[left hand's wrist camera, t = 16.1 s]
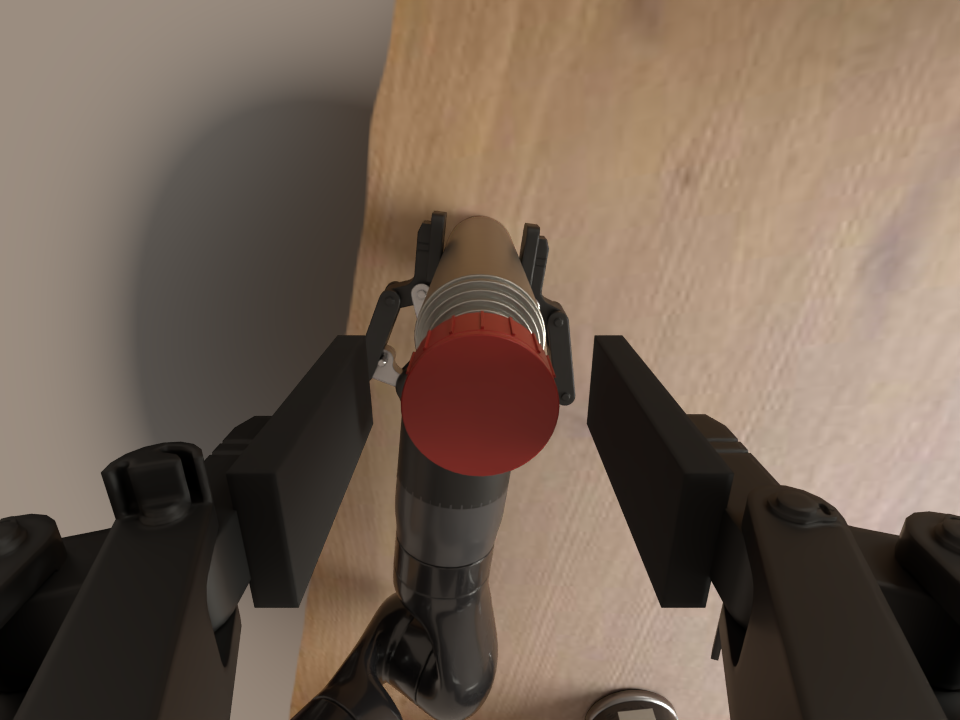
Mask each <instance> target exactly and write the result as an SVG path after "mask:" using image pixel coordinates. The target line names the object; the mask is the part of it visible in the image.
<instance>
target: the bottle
mask: <svg viewBox="0 0 960 720" xmlns="http://www.w3.org/2000/svg"><path fill="white" fill-rule="evenodd" d="M481 311H484V313H492V314H498V315H501V316H505V317H507V318H509V317H512V319H513V320H514V321H516V322H518V323H519V324H521V325H522V326H524V327H525V328H526V329H527V330H529V331H530V332H531V333H533V332H534V333H535V335H536V338H537V340H538V342H539V343H540V344H541V346H542V348H543V350H544V348H545V340H546V334H545V325H544V321H543V317H542V314H541V312H540V309H539V307H538V304H537V302H536V299H535V297H534V294H533V292H532V289H531V287H530V284H529V282H528V279H527V277H526V274H525V272H524V269H523V267H522V264H521V262H520V259H519V257H518V254H517V252H516V249H515V247H514V244H513V242H512V239H511V237H510V235H509V233H508V231H507V230H506V228H505V227H504V226H503V225H502V224H501V223H499V222H498V221H496V220H494V219H492V218H489V217H485V216H475V217H471V218H468V219H466V220H464V221H462V222H461V223H459V224H458V225H457V226H456V227H455V228H454V230H453V231H452V233H451V235H450V237H449V239H448V242H447V244H446V247H445V249H444V252H443V254H442V257H441V259H440V262H439V264H438V267H437V269H436V272H435V274H434V277H433V279H432V282H431V284H430V287H429V289H428V292H427V294H426V297H425V300H424V302H423V305H422V307H421V310H420V312H419V315H418V318H417V321H416V326H415V347H416V350H417V348H418V346H419V345H420V343H421V342H422V340H423V339H424V338H425V337H426V335H427V332H428V331H429V330H431V331H432V330H433V329H434V328H435V327H437V326H438V325H439V324H441V323H443V322H444V321H446V320H448V319H450V318H451V317H452V316H453V315H455V317H456V316H458V315H463V314H467V313H476V312H481Z"/></svg>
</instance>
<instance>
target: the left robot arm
mask: <svg viewBox="0 0 960 720" xmlns="http://www.w3.org/2000/svg"><path fill="white" fill-rule="evenodd" d="M372 425H373V417H372V405H371V394H370V383H369V371H368V360H367V348H366V337H365V335H338V336H337V337H336V338H335V339H334V341H333V342H332V343H331V344H330V346H329V347H328V348H327V349H326V350H325V352H324V353H323V354H322V355H321V357H320V358H319V359H318V360H317V362H316V363H315V364H314V365H313V366H312V368H311V369H310V370H309V371H308V373H307V374H306V375H305V376H304V378H303V379H302V380H301V381H300V382H299V384H298V385H297V386H296V387H295V389H294V390H293V391H292V392H291V394H290V395H289V396H288V397H287V398H286V400H285V401H284V402H283V403H282V405H281V406H280V407H279V408H278V410H277V411H276V412H275V413H274V415H273V416H254V417H252V418H250V419H249V420H247V421H245V422H244V423H242V424H240V425H238V426H237V427H235V428H234V429H233V430H232V431H231V432H230V433H229V434H228V436H227V437H226V438H225V439H224V440H223V443H222V444H219V445H218V446H217V448H216V449H215V450H214V451H213V452H212V455H209V456H208V458H206V460H205V461H204V458H203V454H202V450H201V449H200V448H199V447H197V446H196V445H194V444H191V443H185V442H168V443H160V444H155V445H151V446H146V447H143V448H140V449H138V450H135V451H132V452H130V453H127V454H125V455H123V456H122V457H120V458H118V459H116V460H115V461H113V462H111V463H110V464H109V465H108V466H107V467H106V468H105V469H104V470H103V471H102V472H101V475H102V478H103V481H104V484H105V487H106V490H107V494H108V497H109V500H110V503H111V506H112V509H113V512H114V515H115V518H116V520H115V522H114V524H113V526H112V528H109V529H104V530H99V531H94V532H89V533H84V534H79V535H74V536H69V537H64V538H61V536H60V533H59V530H58V527H57V525H56V522H55V520H53V519H52V518H50V517H49V516H47V515H39V514H27V515H20V516H11V517H7V518H3V519H1V520H0V720H230V713H231V705H232V697H233V689H234V681H235V673H236V665H237V657H238V649H239V641H240V633H241V619H240V614H239V609H238V605H237V604H238V602H239V600H240V598H241V597H242V595H243V593H244V591H245V589H246V587H247V586H248V584H250V589H251V593H252V598H253V603H254V607H255V608H298V607H299V605H300V603H301V600H302V598H303V595H304V593H305V590H306V588H307V586H308V583H309V581H310V578H311V576H312V573H313V571H314V568H315V566H316V563H317V561H318V558H319V556H320V553H321V551H322V549H323V546H324V544H325V541H326V539H327V536H328V534H329V531H330V529H331V526H332V524H333V521H334V519H335V517H336V514H337V512H338V509H339V507H340V504H341V502H342V499H343V497H344V494H345V492H346V489H347V487H348V484H349V482H350V480H351V477H352V475H353V472H354V470H355V467H356V465H357V462H358V460H359V457H360V455H361V452H362V450H363V447H364V445H365V443H366V440H367V438H368V435H369V433H370V430H371V428H372ZM587 425H588V428H589V430H590V433H591V435H592V438H593V440H594V443H595V445H596V447H597V450H598V452H599V455H600V457H601V460H602V462H603V465H604V467H605V470H606V472H607V475H608V477H609V480H610V482H611V484H612V487H613V489H614V492H615V494H616V497H617V499H618V502H619V504H620V507H621V509H622V512H623V514H624V517H625V519H626V521H627V524H628V526H629V529H630V531H631V534H632V536H633V539H634V541H635V544H636V546H637V549H638V551H639V553H640V556H641V558H642V561H643V563H644V566H645V568H646V571H647V573H648V576H649V578H650V581H651V583H652V586H653V588H654V590H655V593H656V595H657V598H658V600H659V603H660V605H661V608H705V607H706V603H707V598H708V593H709V589H710V584H711V581H712V583H713V585H714V587H715V588H716V590H717V592H718V594H719V596H720V598H721V599H722V601H723V605H722V609H721V614H720V618H719V622H718V627H717V631H716V635H715V639H714V644H713V648H712V655H711V659H714V660H718V659H719V655H720V650H721V649H722V656H723V664H724V672H725V680H726V688H727V696H728V704H729V712H730V720H960V516H956V515H952V514H943V513H937V512H930V511H929V512H917V513H913V514H912V515H910V516H909V517H907V518H906V519H905V522H904V525H903V527H902V530H901V533H900V535H899V536H898V535H893V534H888V533H883V532H878V531H873V530H868V529H862V528H857V527H853V526H849V525H847V523H846V521H845V519H844V518H843V516H842V515H841V514H840V513H839V512H838V510H837V509H836V508H835V507H833V506H832V505H831V504H829V503H828V502H826V501H825V500H823V499H822V498H820V497H818V496H815V495H813V494H811V493H809V492H806V491H804V490H801V489H797V488H793V487H789V486H784V485H780V484H779V483H778V482H777V481H776V480H775V479H774V478H773V477H772V476H771V475H770V473H769V472H768V471H767V470H766V469H765V468H764V467H763V466H762V465H761V464H760V463H759V462H758V460H757V459H756V458H755V457H754V456H753V455H752V454H751V453H748V450H747V449H746V447H745V446H744V445H743V444H742V443H741V442H738V439H737V438H736V437H735V436H734V434H733V433H732V432H731V431H730V430H729V429H728V428H727V427H726V426H725V425H723V424H722V423H720V422H718V421H716V420H715V419H713V418H711V417H709V416H708V415H706V414H686V413H685V412H684V411H683V410H682V408H681V407H680V406H679V405H678V403H677V402H676V401H675V400H674V398H673V397H672V396H671V395H670V394H669V392H668V391H667V390H666V389H665V387H664V386H663V385H662V384H661V382H660V381H659V380H658V379H657V378H656V376H655V375H654V374H653V373H652V371H651V370H650V369H649V368H648V366H647V365H646V364H645V363H644V362H643V360H642V359H641V358H640V357H639V355H638V354H637V353H636V352H635V350H634V349H633V348H632V347H631V345H630V344H629V343H628V342H627V341H626V339H625V338H624V337H623V336H622V335H595V337H594V348H593V360H592V371H591V382H590V394H589V405H588V417H587Z"/></svg>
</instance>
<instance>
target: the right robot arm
mask: <svg viewBox="0 0 960 720" xmlns="http://www.w3.org/2000/svg"><path fill="white" fill-rule="evenodd" d="M446 217H447V212H440V211H434V212H433V213H432V219H431V221H426V220H425V221H424V222H423V223H422V225H421V227H420V229H419V231H418V237H417V251H416V262H415V275H414V277H413V278H412V279H410V280H407V281H403V282H397V281H394V282H391V283H389V284H388V286H387V287H386V289H385V291H383V292H382V294H381V295H380V297H379V300H378V302H377V305H376V308H375V311H374V314H373V316H372V319H371V322H370V325H369V328H368V331H367V333H366V336H365V337H366V348H367V360H368V371H369V381H370V380H371V379H372V378H374V379H376V380H379V381H382V382H384V383H387V384H390V385H392V386H395V387H396V392H397V395H398V396H399V398H400V401H401V396H402V391H403V387H404V384H405V381H406V378H407V375H408V374H406V371H407V368H408V365H409V362H410V361H409V362H408V363H407V364H406V365H405V366H404V367H403V368H400V367H399V366H398V365H397V364H396V362H395V357H396V352H395V350H394V348H393V347H391V346H389V345H387V342H388V340H389V337H390V334H391V332H392V329H393V326H394V324H395V321H396V318H397V316H398V313H399V310H400V308H402V307H407V306H411V305H414V309H415V313H416V317H417V318H418V315H419V312H420V310H421V307H422V305H423V302H424V300H425V297H426V294H427V292H428V289H429V287H430V284H431V282H432V279H433V277H434V274H435V272H436V269H437V267H438V264H439V262H440V259H441V257H442V254H443V248H444V238H445V227H446ZM539 235H540V227H539V226H538V225H537V224H530V223H525V225H524V230H523V236H522V243H521V249H520V256H519V259H520V262H521V264H522V267H523V269H524V272H525V274H526V277H527V279H528V282H529V284H530V287H531V289H532V292H533V294H534V297H535V299H536V302H537V304H538V307H539V309H540V312H541V314H542V317H543V321H544V325H545V334H546V345H547V354H548V356H549V358H550V361H551V364H552V367H553V370H554V373H555V376H556V378H554V380H555V383H556V386H557V390H558V395H559V404H560V405H569V404H571V403H572V402H573V401H574V399H575V387H574V375H573V364H572V352H571V341H570V329H569V319H568V317H567V315H566V313H565V312H564V310H563V308H562V306H561V305H560V304H559V303H558V302H555V301H551V300H549V299H547V298H545V297H544V296H542V286H543V280H544V274H545V269H546V263H547V257H548V252H549V247H548V242H547V239H546V238H545V237H544V236H539ZM510 472H511V471H508V472H505V473H502V474H497V475H491V476H470V475H463V474H459V473H455V472H452V471H449V470H447V469H444V468H442V467H440V466H438V465H437V464H435V463H434V462H432V461H431V460H429V459H428V458H427V457H426V456H424V455H423V454H422V453H421V452H420V451H419V450H418V448H417V447H416V446H415V445H414V443H413V442H412V440H411V439H410V437H409V435H408V433H407V431H406V429H405V426H404V423H403V419H401V431H400V444H399V457H398V469H397V483H396V495H395V514H396V524H397V530H396V540H395V553H394V569H393V582H394V587H395V591H396V593H394V594H392V595H391V596H389V597H388V598H387V599H386V600H385V601H384V602H383V603H382V604H381V606H380V607H379V609H378V610H377V611H376V613H375V615H374V616H373V618H372V619H371V621H370V623H369V624H368V626H367V628H366V630H365V631H364V633H363V635H362V636H361V638H360V639H359V641H358V642H357V644H356V645H355V647H354V648H353V650H352V651H351V653H350V654H349V655H348V657H347V658H346V660H345V661H344V662H343V664H342V665H341V667H340V668H339V669H338V671H337V672H336V673H335V675H334V676H333V678H332V679H331V680H330V681H329V683H328V684H327V685H326V686H325V688H324V689H323V690H322V691H321V692H320V693H319V694H317V695H316V696H315V697H314V698H313V699H312V700H311V701H310V702H309V703H308V704H307V705H306V706H304V707H303V708H302V709H301V710H300V711H299V712H298V713H297V714H296V715H295V716H294V717H293V718H292V719H291V720H403V719H402V716H401V714H400V712H399V710H398V708H397V707H396V705H395V703H394V702H393V700H392V698H391V697H390V695H389V694H388V693H387V691H386V690H385V689H384V687H383V686H382V685H383V684H384V683H386V682H387V683H389V684H390V685H391V686H393V687H394V688H395V689H397V690H398V691H399V692H400V693H402V694H403V695H404V696H405V697H407V698H408V699H409V700H411V701H412V702H413V703H414V704H416V705H417V706H418V707H419V708H420V709H422V710H423V711H424V712H426V713H427V714H428V715H429V716H431V717H432V718H434V719H436V720H466V719H468V718H470V717H471V716H473V715H474V714H475V713H476V712H477V711H478V710H479V709H480V707H481V706H482V705H483V703H484V702H485V700H486V699H487V697H488V695H489V693H490V690H491V688H492V685H493V682H494V678H495V673H496V668H497V660H498V641H497V632H496V625H495V619H494V613H493V607H492V601H491V593H490V588H489V583H488V578H489V571H490V566H491V560H492V555H493V549H494V543H495V538H496V535H497V531H498V529H499V526H500V523H501V520H502V516H503V512H504V506H505V500H506V495H507V489H508V483H509V477H510ZM585 720H678V718H677V715H676V712H675V709H674V707H673V706H672V704H671V703H670V702H669V701H668V700H667V699H666V698H664V697H663V696H661V695H659V694H656V693H653V692H650V691H644V690H626V691H620V692H616V693H613V694H610V695H608V696H606V697H604V698H602V699H601V700H599V701H598V702H596V703H595V704H594V705H593V706H592V707H591V708H590V710H589V711H588V713H587V715H586V718H585Z"/></svg>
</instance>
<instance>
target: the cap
mask: <svg viewBox="0 0 960 720" xmlns="http://www.w3.org/2000/svg"><path fill="white" fill-rule="evenodd" d="M406 374H408V375H407V378H406V381H405V384H404V387H403V391H402V396H401V413H402V419H403V423H404V426H405V429H406V431H407V433H408V435H409V437H410V439H411V440H412V442H413V443H414V445H415V446H416V447H417V448H418V450H419V451H420V452H421V453H422V454H423V455H424V456H426V457H427V458H428V459H429V460H431V461H432V462H434V463H435V464H437V465H438V466H440V467H442V468H444V469H447V470H449V471H452V472H455V473H459V474H463V475H470V476H491V475H497V474H502V473H505V472H508V471H511V470H514V469H516V468H518V467H520V466H522V465H523V464H525V463H527V462H528V461H530V460H531V459H532V458H533V457H535V456H536V455H537V454H538V453H539V452H540V451H541V450H542V449H543V448H544V446H545V445H546V444H547V442H548V441H549V439H550V437H551V436H552V434H553V432H554V429H555V427H556V424H557V420H558V415H559V395H558V390H557V386H556V383H555V380H554V378H556V376H555V373H554V370H553V367H552V364H551V361H550V358H549V356H548V355H547V356H546V354H545V352H544V350H543V348H542V346H541V344H540V343H539V342H538V340H537V338H536V335H535V333H534V332H533V333H531V332H530V331H529V330H527V329H526V328H525V327H524V326H522V325H521V324H519V323H518V322H516V321H514V320H513V319H512V317H509V318H507V317H505V316H501V315H498V314H492V313H484V311H481V312H476V313H467V314H463V315H458V316H456V317H455V315H453V316H452V317H451V318H450V319H448V320H446V321H444V322H443V323H441V324H439V325H438V326H437V327H435V328H434V329H433V330H432V331H431V330H429V331H428V332H427V335H426V337H425V338H424V339H423V340H422V342H421V343H420V345H419V346H418V348H417V350H416V352H413V353H412V356H411V359H410V362H409V365H408V368H407V371H406Z"/></svg>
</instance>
